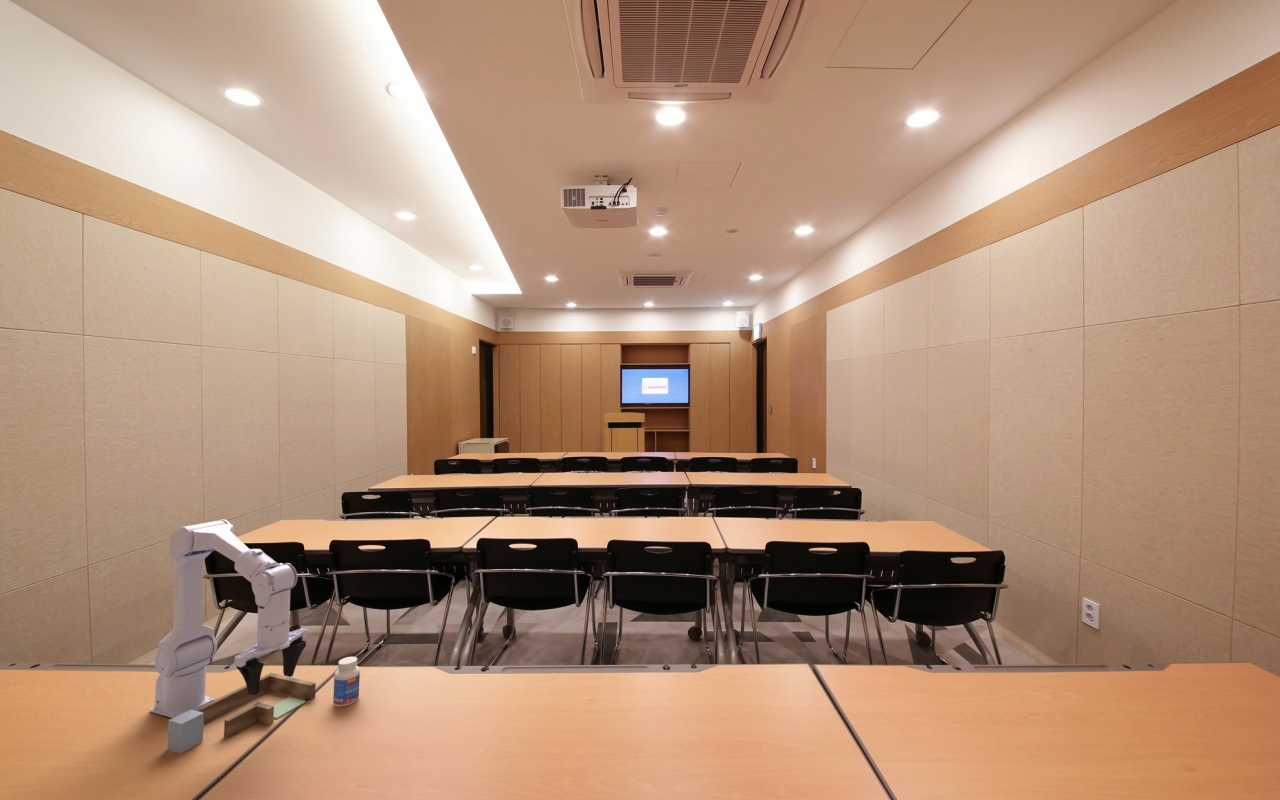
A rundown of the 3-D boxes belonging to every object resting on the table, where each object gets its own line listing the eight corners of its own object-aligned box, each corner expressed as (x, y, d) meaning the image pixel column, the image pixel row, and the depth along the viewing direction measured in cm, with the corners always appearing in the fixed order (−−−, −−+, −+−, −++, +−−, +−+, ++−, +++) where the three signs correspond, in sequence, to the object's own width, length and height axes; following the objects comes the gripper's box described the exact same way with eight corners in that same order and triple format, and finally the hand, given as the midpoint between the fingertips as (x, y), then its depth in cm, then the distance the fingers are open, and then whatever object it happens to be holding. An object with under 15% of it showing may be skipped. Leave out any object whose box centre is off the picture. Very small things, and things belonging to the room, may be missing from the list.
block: (167, 749, 102) (168, 720, 102) (190, 737, 106) (191, 709, 106) (180, 753, 101) (181, 723, 101) (202, 741, 105) (203, 712, 105)
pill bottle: (347, 709, 117) (348, 667, 117) (327, 706, 118) (328, 664, 118) (364, 696, 122) (365, 656, 123) (345, 693, 123) (346, 654, 124)
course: (192, 726, 110) (192, 710, 110) (270, 686, 126) (270, 672, 126) (240, 741, 105) (240, 724, 105) (315, 697, 121) (315, 683, 121)
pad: (259, 714, 114) (259, 713, 114) (289, 698, 121) (289, 696, 121) (277, 719, 113) (277, 717, 113) (305, 702, 119) (306, 700, 119)
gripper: (252, 638, 101) (249, 705, 101) (317, 612, 115) (315, 671, 115) (228, 633, 103) (225, 699, 103) (295, 608, 117) (293, 666, 117)
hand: (271, 684), depth 109 cm, fingers open, 7 cm apart
